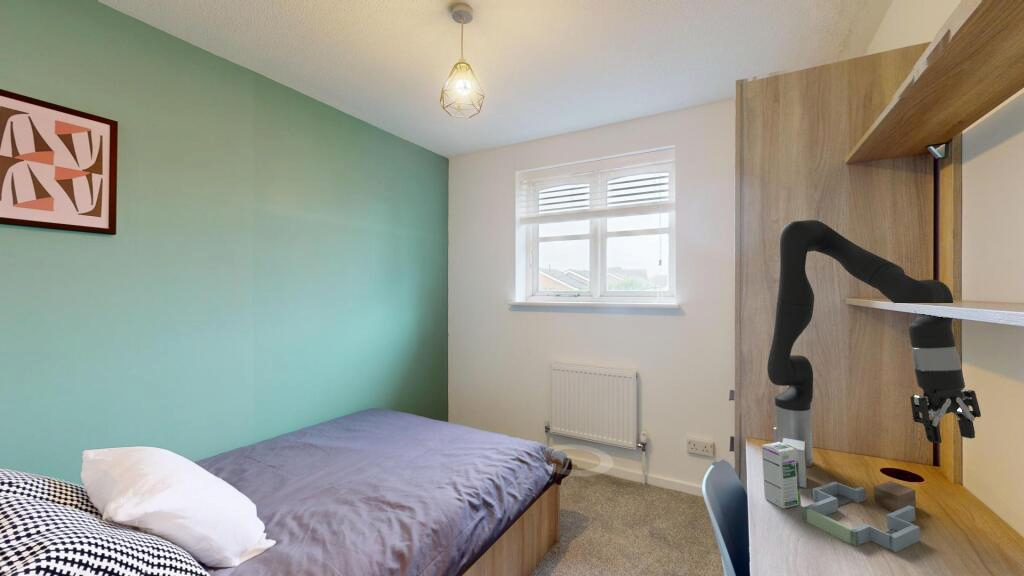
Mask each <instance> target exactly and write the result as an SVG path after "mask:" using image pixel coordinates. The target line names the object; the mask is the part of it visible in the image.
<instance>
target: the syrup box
mask: <svg viewBox="0 0 1024 576" xmlns="http://www.w3.org/2000/svg"><path fill="white" fill-rule="evenodd" d="M761 455H762V456H761V457H762V458H761V459H762V474H763V490H764V499H766V501H768V502H770V503H772V504H774V505H776V506H777V507H779V508H781V509H783V510H786V509H787V508H792V507H796V506H801V505H802V501H801V500H802V499H801V487H800V481H799V464H798V450H797V449H796V448H794V447H792V446H790V445H787V444H785V443H781V442H776V443H774V442H771V443H766V444H764V443H763V444H762V445H761Z"/></svg>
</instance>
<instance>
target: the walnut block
mask: <svg viewBox="0 0 1024 576" xmlns="http://www.w3.org/2000/svg"><path fill="white" fill-rule="evenodd" d="M916 497H917V496H916V489H914V488H912V487H910V486H906V485H903V484H901V483H898V482H895V481H892V480H889V481H887V482H884V483H880V484H877V485H874V486H873V504H874V505H876V506H879V507H881V508H884V509H887V510H888V511H891V512H894V511H897V510H899V509H902V508H904V507H906V506H909V505H910V506H913V507H915V508H917V502H916V501H917V499H916Z"/></svg>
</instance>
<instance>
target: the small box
mask: <svg viewBox="0 0 1024 576" xmlns="http://www.w3.org/2000/svg"><path fill="white" fill-rule="evenodd" d="M782 443H785V444H787V445H790V446H792V447H794V448H796V449H797V450H798V464H799V481H800V488H804V489H806V488H808V487H807V482H808V481H807V479H808V473H807V468H808V467H806V443H805V441H799V440H793V439H786V438H783V441H782Z"/></svg>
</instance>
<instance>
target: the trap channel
mask: <svg viewBox="0 0 1024 576" xmlns="http://www.w3.org/2000/svg"><path fill="white" fill-rule="evenodd" d="M812 499H813V501H814V503H811V504H809V505H808V504H807V505H806V506H803V507H802V508H801V509H802V520H803V521H804V522H806V523H808V524H810V525H812V526H814V527H816V528H818V529H820V530H822V531H824V532H826V533H828V534H831V535H832V536H834V537H836V538H838V539H840V540H841V541H844V542H846V543H848V544H849V545H852V546H854V547H859V546H860V545H863V544H865V543H867V542H869V541H870V542H873V543H875V544H877V545H878V546H879V545H880V546H881V547H884V548H885V549H888V550H890V551H892V552H895V553H898V552H900V551H901V550H904V549H906V548H907V547H911V546H912V545H913V544H916V543H918V542H920V541H921V536H920V535H921V533H920V526H918V525H916V524H913V523H912V522H915V521H916V507H913V506H910V505H909V506H906V507H904V508H902V509H899V510H897V511H894V512H893V511H891V512H890V513H887V514H886V524H887V526H886V527H887V529H889V530H887V531H883V530H881V529H879V528H876V527H874V526H872V525H869V524H868V523H863V524H862V525H859V526H856V527H854V528H851V527H850V526H847V525H845V524H843V523H841V522H839V521H838V520H835V519H833V518H830V517H829V516H827V515H829V514H830V515H831V514H832V513H835V512H837V511H839V507H841V506H844V505H847V504H850V503H851V502H855V503H858V504H859V503H861V502H864V501H865V500H866V489H865V487H862V486H858V487H856V488H853V487H851V486H848V485H845V484H844V483H840V482H837V481H831V482H829V483H826V484H823V485H819V486H817V487H814V488H812Z"/></svg>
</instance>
